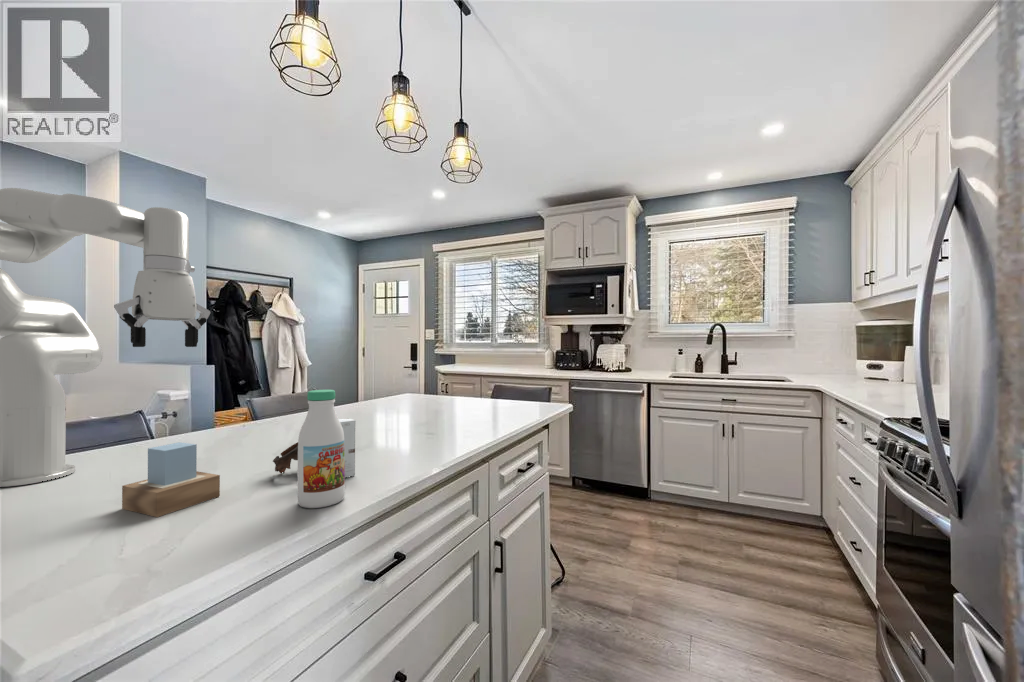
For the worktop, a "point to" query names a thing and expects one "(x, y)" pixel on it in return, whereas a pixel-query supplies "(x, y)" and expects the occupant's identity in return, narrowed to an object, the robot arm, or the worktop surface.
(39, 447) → the robot arm
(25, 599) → the worktop surface
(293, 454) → the brown segmented ring
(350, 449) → the skincare box
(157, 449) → the slate block
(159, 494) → the walnut plinth
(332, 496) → the milk bottle
